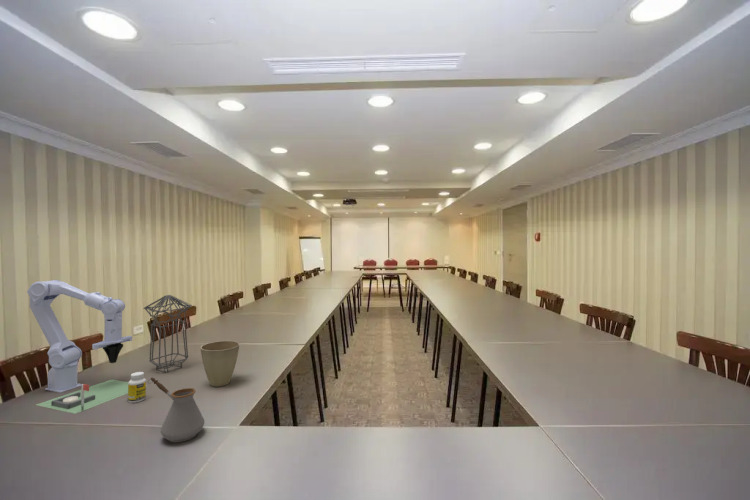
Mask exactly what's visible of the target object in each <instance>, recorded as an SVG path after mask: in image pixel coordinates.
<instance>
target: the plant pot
mask: <svg viewBox="0 0 750 500" xmlns="http://www.w3.org/2000/svg"><path fill="white" fill-rule="evenodd" d="M239 349H240V343H239V342H238V341H235V340H220V341H218V340H217V341H213V342H212V341H211V342H208V343H205V344H202V345H200V355H201V359H202V364H203V367H204V372H205V375H206V377H207V378H206V379H207V381H208V382H209V385H210V386H211V387H223V386H225V385H228V384H229V383H230V382H231V379H232V377H233V374H234V370H235V367H236V364H237V360H238V356H239V351H240V350H239Z"/></svg>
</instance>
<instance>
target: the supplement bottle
mask: <svg viewBox="0 0 750 500" xmlns="http://www.w3.org/2000/svg"><path fill="white" fill-rule="evenodd" d="M144 376H145V372H143V371H136V372H133V373H131V374H130V380H129V381H128V382H129V383H128V394H127V402H128V403H132V404H133V403H134V404H135V403H140V402H143V401H144V400H145V399H146V397H147V395H146V394H147V386H146V385H147V379H146V378H145V377H144Z"/></svg>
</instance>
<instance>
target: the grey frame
mask: <svg viewBox="0 0 750 500" xmlns="http://www.w3.org/2000/svg"><path fill="white" fill-rule="evenodd" d="M80 384H81V386H80V387H81V389H80V390H81V399H80V400H78V401H75V402H72V403H66V402H63V399H65V398H67V397H71V396H78V397H80V392H77V393H75V394H72V395H69V396H66V397H63V398H60V399H57V400H54V401H51V406H56V407H61V408H65V409H70V408H73V407H76V406H78V405H81V412H83V410H84V403H87V402H89V401H92V400H95V395H92V396H89V397H86V398H84V390H85V391H89V387H90V385H89V384H85V383H80ZM84 411H85V410H84Z"/></svg>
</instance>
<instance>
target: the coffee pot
mask: <svg viewBox="0 0 750 500" xmlns="http://www.w3.org/2000/svg"><path fill="white" fill-rule="evenodd" d="M150 380H151V382H150ZM147 383H148V384H154V385H156V387H157V388H158V389H159V390H161V391H162V392H163V393H164V394H166V395H167V396H168V397H169V398H170V399H171V400H172V403H171V406H170V408H169V411H168V413H167V415H166V417H165V419H164V421H163V423H162V426H161V428H160V434H161V436H162V437H163V438H164V439H166V441H167V440H168V441H169V442H170V443H181V442H186V441H189V440H192V439H193V438H194V437H196V436H197V434H199V432H201V431H202V429H203V427H204V426H205V419H204V417H203V415H202V412H201V411H200V409H199V407H198V405H197V403H196V400H195V399H194V394H195V393H196V392H197V391H196V389H195V388H194V387H191V388H190V387H189V388H188V387H186V388H182V389H177V390H175V391H173V392H172V393H171V392H170V391H169V390H168V388H166V386H164V385H163V384H162V383H161V382H160V381H159V380H158V379H156V378H155V377H150V378H149V379H148V380H147Z"/></svg>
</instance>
